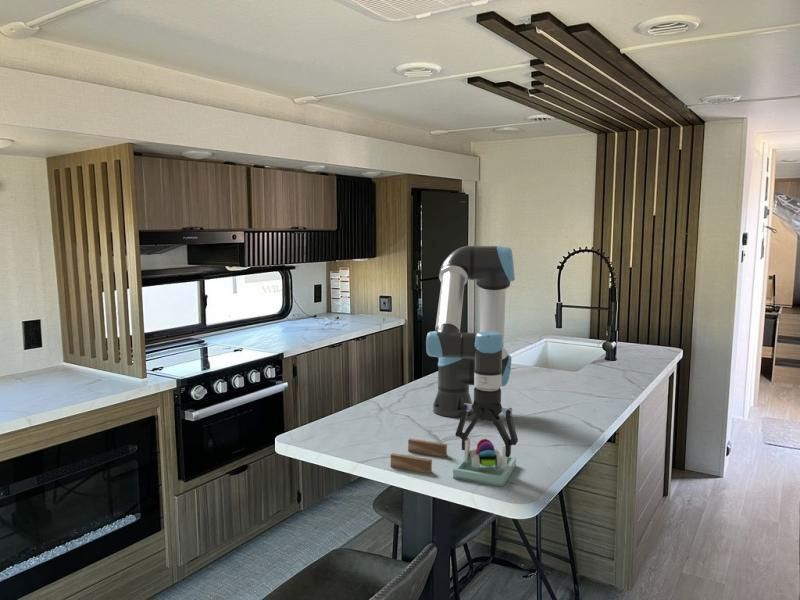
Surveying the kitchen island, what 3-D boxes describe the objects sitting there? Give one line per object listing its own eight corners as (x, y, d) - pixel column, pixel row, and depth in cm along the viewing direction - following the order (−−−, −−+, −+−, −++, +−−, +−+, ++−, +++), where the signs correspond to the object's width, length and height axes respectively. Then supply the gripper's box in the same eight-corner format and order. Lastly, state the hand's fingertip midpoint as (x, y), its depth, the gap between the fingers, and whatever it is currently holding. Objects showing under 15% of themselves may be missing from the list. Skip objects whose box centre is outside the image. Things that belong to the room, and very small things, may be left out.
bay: (410, 449, 188) (410, 438, 188) (446, 455, 183) (446, 444, 183) (390, 466, 174) (390, 454, 174) (429, 473, 170) (429, 461, 169)
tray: (469, 458, 181) (469, 450, 181) (516, 465, 176) (516, 457, 175) (453, 478, 166) (453, 469, 166) (503, 486, 161) (503, 477, 161)
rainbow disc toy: (497, 458, 176) (498, 434, 175) (504, 472, 166) (504, 446, 165) (468, 458, 176) (468, 434, 175) (473, 472, 166) (473, 447, 165)
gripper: (444, 386, 169) (443, 462, 172) (525, 395, 160) (522, 475, 163) (452, 380, 176) (451, 453, 179) (531, 388, 167) (528, 465, 170)
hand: (485, 464), depth 171 cm, fingers closed on rainbow disc toy, 10 cm apart
